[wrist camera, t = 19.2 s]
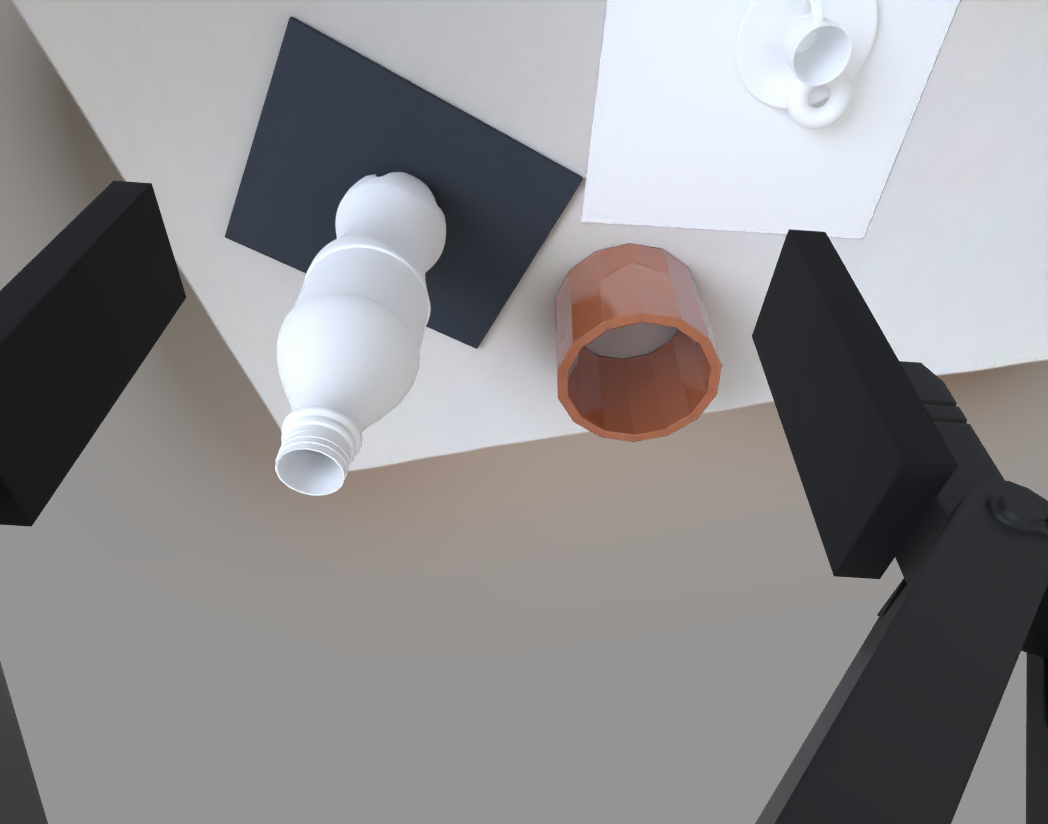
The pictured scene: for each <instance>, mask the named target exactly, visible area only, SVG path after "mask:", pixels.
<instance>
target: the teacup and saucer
mask: <svg viewBox="0 0 1048 824" xmlns="http://www.w3.org/2000/svg"><path fill="white" fill-rule="evenodd" d="M878 23H879V8H878V2H877V0H752V1H751V2H750V4H749V5H748V7H747V9H746V11H745V13H744V15H743V17H742V19H741V22H740V25H739V28H738V31H737V35H736V41H735V63H736V68H737V72H738V75H739V77H740V80H741V82H742V83H743V85H744V87H745V88H746V89H747V91H748V92H749V93H750V94H751V95H752V96H753V97H754V98H755V99H757V100H758V101H759V102H761V103H763V104H765V105H767V106H769V107H772V108H776V109H781V110H787V111H788V114H789V116H790V118H791V119H792V121H793V122H794V123H795V124H796V125H798V126H799V127H801V128H803V129H806V130H821V129H824V128H827V127H829V126H831V125H833V124H834V123H836V122H837V121H838V120H839V119H840V118H841V117H842V116H843V115H844V114H845V112H846V111H847V109H848V108H849V106H850V103H851V100H852V95H853V86H852V81H851V80H852V79H853V78H854V77H855V76H856V74H857V73H858V72H859V70H860V69H861V68H862V66H863V65H864V63H865V61H866V60H867V58H868V56H869V54H870V52H871V50H872V47H873V45H874V42H875V38H876V35H877V30H878ZM825 100H827V101H826V102H825V104H823V105H822V106H819V107H814V105H817V104H819V103H821V102H823V101H825Z"/></svg>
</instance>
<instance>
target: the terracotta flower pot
mask: <svg viewBox="0 0 1048 824" xmlns="http://www.w3.org/2000/svg"><path fill="white" fill-rule="evenodd" d="M555 318H556V353H557V386H558V399H559V400H560V402H561V403H562V405H563V406H564V408H565V409H566V411H567V412H568V414H569V416H570V417H571V419H572V420H573V422H575V423H577V424H578V425H580V426H582V427H584V428H586V429H587V430H589V431H591V432H593V433H594V434H596V435H598V436H600V437H604V438H610V439H617V440H625V441H631V442H636V441H642V440H647V439H652V438H658V437H663V436H668V435H670V434H672V433H673V432H675V431H677V430H679V429H680V428H682V427H684V426H686V425H687V424H689V423H691V422H693V421H694V420H696V419H698V418H699V416H700V415H701V414H702V413H703V411H704V410H705V409H706V408H707V406H708V405H709V404H710V402H711V401H712V400H713V399H714V397H715V396H716V395H717V391H718V385H719V379H720V373H721V367H722V364H721V361H720V358H719V355H718V352H717V348H716V345H715V342H714V339H713V336H712V333H711V329H710V326H709V323H708V320H707V317H706V313H705V310H704V307H703V304H702V301H701V297H700V294H699V291H698V289H697V287H696V285H695V282H694V280H693V278H692V276H691V273H690V271H689V269H688V267H687V266H685V265H684V264H683V263H681V262H680V261H679V260H677V259H676V258H674V257H673V256H672V255H670V254H669V253H668V252H666V251H665V250H663V249H659V248H653V247H647V246H642V245H636V244H625V245H621V246H617V247H613V248H609V249H604V250H600V251H596V252H594V253H593V254H592V255H590V256H589V257H587V258H586V259H585V260H583V261H582V262H581V263H579V264H578V265H577V266H575V267H574V268H573V269H571V270H570V271H569V272H568V274H567V276H566V278H565V280H564V282H563V284H562V286H561V287H560V289H559V291H558V293H557V295H556V297H555ZM641 322H645V323H651V324H657V325H664V326H670V327H675V328H677V329H678V330H679V331H678V332H677V334H676V335H675V336H674V338H673V339H672V340H671V341H669V342H668V343H666V344H665V345H663V346H662V347H660V348H658V349H657V350H655V351H654V352H652V353H650V354H647V355H642V356H637V357H632V358H627V359H617V358H610V357H604V356H597V355H596V354H594V353H593V352H591V351H589V350H588V349H586V348H585V347H584V346H585V345H587V344H588V343H590V342H591V341H593V340H594V339H596V338H597V337H598V336H600V335H601V334H603V333H604V332H606V331H607V330H609V329H613V328H618V327H622V326H627V325H632V324H636V323H641Z"/></svg>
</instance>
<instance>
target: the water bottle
mask: <svg viewBox="0 0 1048 824" xmlns="http://www.w3.org/2000/svg"><path fill="white" fill-rule="evenodd" d="M335 227H336V236H337V239H336V240H334V241H332V242H330V243H329V244H327V245H326V246H325V247H324V248H323V249H321V251H320V252H319V253H318V254H317V255H316V257H315V258H314V260H313V261H312V263H311V265H310V267H309V269H308V271H307V273H306V276H305V280H304V285H303V287H302V290H301V292H300V294H299V296H298V298H297V300H296V302H295V304H294V306H293V309H292V310H291V311H290V313H289V314H288V315H287V316H286V318H285V320H284V322H283V323H282V326H281V329H280V333H279V336H278V343H277V353H276V354H277V364H278V371H279V374H280V377H281V381H282V384H283V387H284V390H285V392H286V395H287V397H288V400H289V402H290V405H291V411H292V412H291V413H290V414H289V415H288V416H287V417H286V418H285V420H284V422H283V425H282V437H281V440H282V444H281V447H280V449H279V452H278V455H277V458H276V466H275V470H276V472H277V475H278V477H279V479H280V480H281V481H282V482H283V483H284V484H286V486H288V487H289V488H291V489H293V490H295V491H298V492H299V493H303V494H308V495H313V496H314V495H327V494H330V493H332V492H335V491H337V490H338V489H339V488H341V487H342V485H343V482H344V479H345V477H346V476H347V474H348V469H349V465H350V463H351V462H352V461H353V460H354V458H355V456H356V455H357V454H358V452H359V451H360V448H361V445H362V435H361V433H362V432H363V430H364V429H366V428H367V427H369V426H370V425H372V424H374V423H375V422H377V421H378V420H380V419H381V418H382V417H384V416H385V415H386V414H388V413H389V412H390V411H391V410H393V409H394V408H395V407H396V406H397V405H398V404H399V403H400V402H401V401H402V400H403V399H404V397H405V396H406V395H407V393H408V392H409V390H410V389H411V387H412V385H413V383H414V380H415V378H416V375H417V372H418V369H419V361H420V355H419V353H420V348H421V344H422V339H423V334H424V330H425V327H426V325H427V323H428V320H429V317H430V311H431V307H430V300H429V296H428V292H427V287H426V281H425V272H427V271H428V270H429V269H430V268H431V267H432V266H433V265H434V264H435V263H436V262H437V260H438V259H439V257H440V256H441V253H442V251H443V248H444V245H445V239H446V222H445V216H444V214H443V212H442V210H441V208H440V207H438V205H437V203H436V201H435V198H434V196H433V194H432V192H431V191H430V189H429V188H428V186H427V185H426V184H425V183H424V182H422V181H421V180H419V179H417V178H416V177H414V176H412V175H409V174H407V173H404V172H391V173H388V174H386V175H384V176H381V177H377V176H376V174H374V175H368V176H365V177H364V178H362V179H360V180H359V181H358V182H356V183H355V184H354V185H353V186H352V187H351V188H350V189H349V190H348V191H347V193H346V194H345V196H344V197H343V199H342V200H341V202H340V204H339V207H338V210H337V214H336V222H335Z"/></svg>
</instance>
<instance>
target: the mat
mask: <svg viewBox="0 0 1048 824" xmlns="http://www.w3.org/2000/svg"><path fill="white" fill-rule="evenodd" d="M391 172H404V173H407V174H409V175H412V176H414V177H416V178H417V179H419V180H421V181H422V182H424V183H425V184H426V185H427V186H428V188H429V189H430V191H431V192H432V194H433V196H434V198H435V201H436V203H437V205H438V207H440V208H441V210H442V212H443V214H444V216H445V222H446V239H445V245H444V248H443V251H442V253H441V256H440V257H439V259H438V260H437V262H436V263H435V264H434V265H433V266H432V267H431V268H430V269H429V270H428V271H427V272H425V281H426V287H427V292H428V296H429V300H430V307H431V311H430V317H429V320H428V323H427V325H426V326H427V327H429V328H431V329H433V330H436V331H438V332H440V333H442V334H445V335H447V336H449V337H451V338H454V339H456V340H458V341H460V342H463V343H465V344H467V345H469V346H472V347H474V348H476V349H477V348H478V346H479V345H480V343H481V341H482V340H483V338H484V337H485V335H486V333H487V332H488V330H489V329H490V327H491V325H492V324H493V322H494V321H495V319H496V317H497V316H498V314H499V313H500V311H501V309H502V308H503V306H504V305H505V303H506V301H507V300H508V298H509V297H510V295H511V294H512V292H513V290H514V289H515V287H516V286H517V284H518V282H519V281H520V279H521V278H522V276H523V274H524V273H525V271H526V270H527V268H528V266H529V265H530V263H531V262H532V260H533V258H534V257H535V255H536V254H537V252H538V250H539V249H540V247H541V246H542V244H543V242H544V241H545V239H546V238H547V236H548V234H549V233H550V231H551V230H552V228H553V226H554V225H555V223H556V222H557V220H558V218H559V217H560V215H561V214H562V212H563V210H564V209H565V207H566V206H567V204H568V202H569V201H570V199H571V198H572V196H573V194H574V193H575V191H576V190H577V188H578V187H579V185H580V183H581V182H582V180H583V178H582V177H581V176H579V175H577V174H576V173H574V172H572V171H570V170H568V169H567V168H565V167H563V166H561V165H559V164H558V163H556V162H554V161H552V160H550V159H549V158H547V157H545V156H543V155H541V154H539V153H538V152H536V151H534V150H532V149H530V148H529V147H527V146H525V145H523V144H521V143H520V142H518V141H516V140H514V139H512V138H511V137H509V136H507V135H505V134H503V133H501V132H500V131H498V130H496V129H494V128H492V127H491V126H489V125H487V124H485V123H483V122H482V121H480V120H478V119H476V118H474V117H473V116H471V115H469V114H467V113H465V112H463V111H462V110H460V109H458V108H456V107H454V106H453V105H451V104H449V103H447V102H445V101H444V100H442V99H440V98H438V97H436V96H434V95H433V94H431V93H429V92H427V91H425V90H424V89H422V88H420V87H418V86H416V85H415V84H413V83H411V82H409V81H407V80H406V79H404V78H402V77H400V76H398V75H396V74H395V73H393V72H391V71H389V70H387V69H386V68H384V67H382V66H380V65H378V64H377V63H375V62H373V61H371V60H369V59H368V58H366V57H364V56H362V55H360V54H358V53H357V52H355V51H353V50H351V49H349V48H348V47H346V46H344V45H342V44H340V43H339V42H337V41H335V40H333V39H331V38H330V37H328V36H326V35H324V34H322V33H320V32H319V31H317V30H315V29H313V28H311V27H310V26H308V25H306V24H304V23H302V22H301V21H299V20H297V19H295V18H293V17H291V18H290V19H289V22H288V25H287V29H286V32H285V36H284V39H283V42H282V46H281V49H280V52H279V56H278V59H277V63H276V66H275V69H274V73H273V76H272V79H271V83H270V86H269V90H268V93H267V96H266V100H265V103H264V106H263V110H262V113H261V117H260V120H259V123H258V127H257V130H256V133H255V137H254V140H253V144H252V147H251V150H250V154H249V157H248V160H247V164H246V167H245V171H244V174H243V177H242V181H241V184H240V187H239V191H238V194H237V198H236V201H235V204H234V208H233V211H232V214H231V218H230V221H229V225H228V228H227V231H226V235H225V237H226V238H228V239H230V240H232V241H235V242H237V243H239V244H241V245H244V246H246V247H248V248H250V249H253V250H255V251H257V252H260V253H262V254H264V255H266V256H269V257H271V258H273V259H275V260H278V261H280V262H282V263H284V264H287V265H289V266H291V267H293V268H296V269H298V270H300V271H302V272H305V273H307V271H308V269H309V267H310V265H311V263H312V261H313V260H314V258H315V257H316V255H317V254H318V253H319V252H320V251H321V249H323V248H324V247H325V246H326V245H327V244H329V243H330V242H332V241H334V240H336V239H337V236H336V227H335V222H336V214H337V210H338V207H339V204H340V202H341V200H342V199H343V197H344V196H345V194H346V193H347V191H348V190H349V189H350V188H351V187H352V186H353V185H354V184H355V183H356V182H358V181H359V180H360V179H362V178H364V177H365V176H368V175H374V174H376V176H377V177H381V176H384V175H386V174H388V173H391Z"/></svg>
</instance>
